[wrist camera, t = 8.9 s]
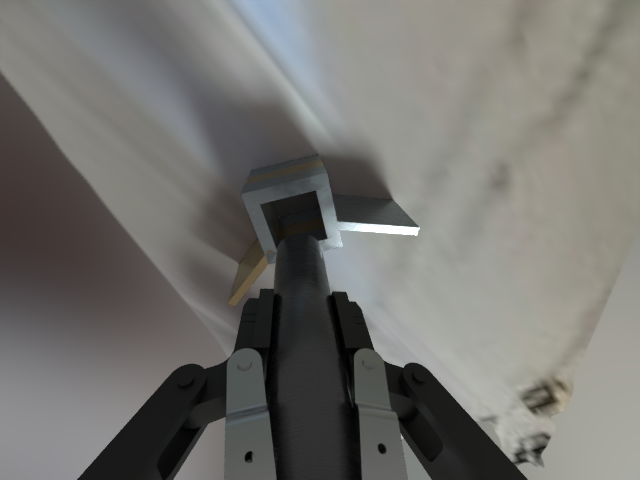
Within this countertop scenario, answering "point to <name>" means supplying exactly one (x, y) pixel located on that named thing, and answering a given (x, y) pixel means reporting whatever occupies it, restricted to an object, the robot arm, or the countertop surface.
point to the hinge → (306, 215)
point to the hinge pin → (307, 371)
